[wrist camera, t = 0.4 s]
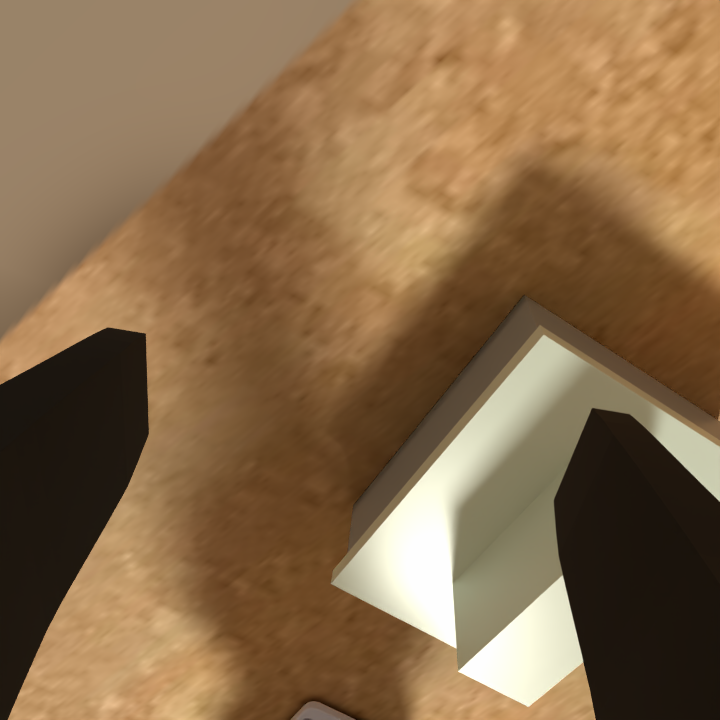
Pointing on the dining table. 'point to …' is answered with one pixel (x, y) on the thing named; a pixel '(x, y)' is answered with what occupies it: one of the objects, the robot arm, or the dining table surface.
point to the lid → (505, 518)
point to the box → (474, 384)
